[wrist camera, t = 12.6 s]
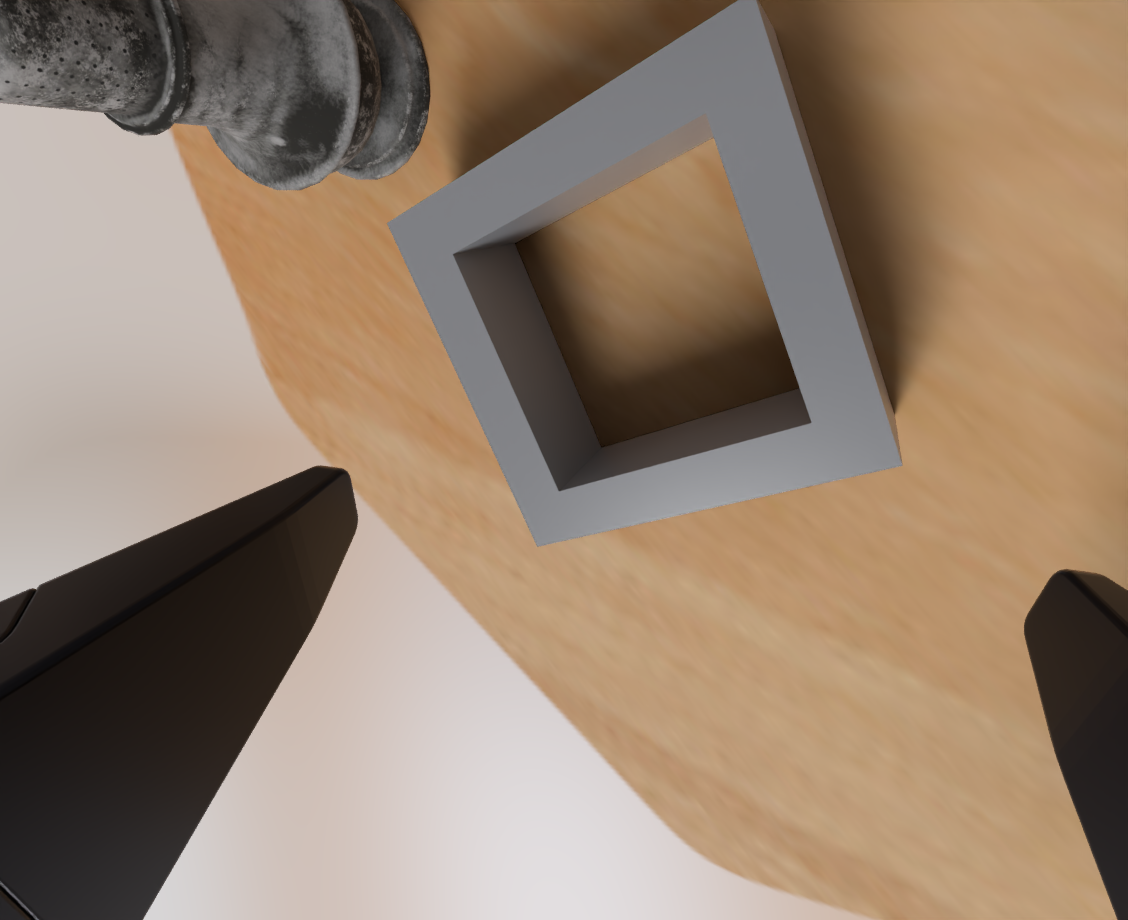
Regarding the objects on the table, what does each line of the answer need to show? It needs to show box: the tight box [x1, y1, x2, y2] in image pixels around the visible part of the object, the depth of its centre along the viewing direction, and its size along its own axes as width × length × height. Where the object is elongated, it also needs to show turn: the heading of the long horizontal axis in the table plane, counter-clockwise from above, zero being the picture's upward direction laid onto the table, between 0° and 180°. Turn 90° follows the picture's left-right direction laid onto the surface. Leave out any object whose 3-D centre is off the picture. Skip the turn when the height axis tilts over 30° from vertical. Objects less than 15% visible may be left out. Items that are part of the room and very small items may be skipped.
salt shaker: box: [0, 0, 430, 190], centre depth 14 cm, size 6×6×12 cm
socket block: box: [387, 0, 902, 547], centre depth 17 cm, size 10×10×4 cm
